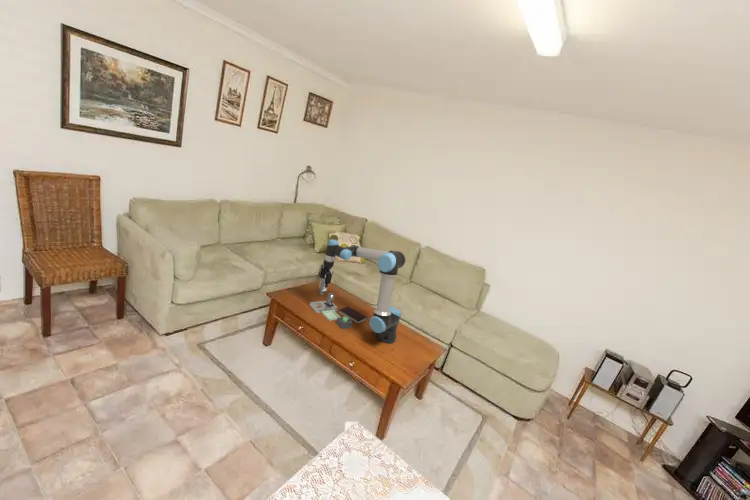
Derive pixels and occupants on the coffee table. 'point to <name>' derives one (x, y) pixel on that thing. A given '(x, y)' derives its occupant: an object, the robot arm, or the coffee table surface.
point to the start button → (345, 319)
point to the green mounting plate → (330, 315)
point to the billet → (322, 286)
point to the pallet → (322, 306)
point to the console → (344, 323)
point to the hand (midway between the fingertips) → (322, 289)
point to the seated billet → (330, 299)
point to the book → (353, 314)
